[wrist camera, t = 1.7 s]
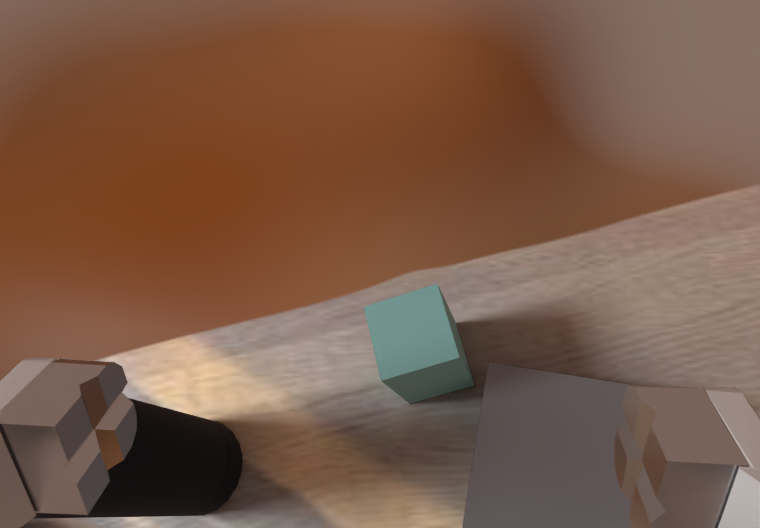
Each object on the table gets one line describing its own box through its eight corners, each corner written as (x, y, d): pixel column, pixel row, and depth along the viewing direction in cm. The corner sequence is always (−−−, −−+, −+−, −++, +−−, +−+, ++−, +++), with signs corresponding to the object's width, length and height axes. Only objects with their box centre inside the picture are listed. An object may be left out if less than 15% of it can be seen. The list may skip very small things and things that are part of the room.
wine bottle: (256, 485, 40) (-318, 436, 13) (177, 534, 40) (-551, 583, 14) (223, 403, 43) (-304, 228, 16) (149, 449, 43) (-496, 351, 16)
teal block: (474, 385, 39) (459, 357, 32) (410, 403, 40) (381, 380, 33) (455, 322, 41) (437, 283, 34) (394, 341, 42) (363, 306, 35)
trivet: (683, 629, 32) (696, 640, 29) (462, 569, 35) (455, 574, 33) (692, 405, 35) (704, 396, 33) (492, 372, 39) (488, 362, 36)
